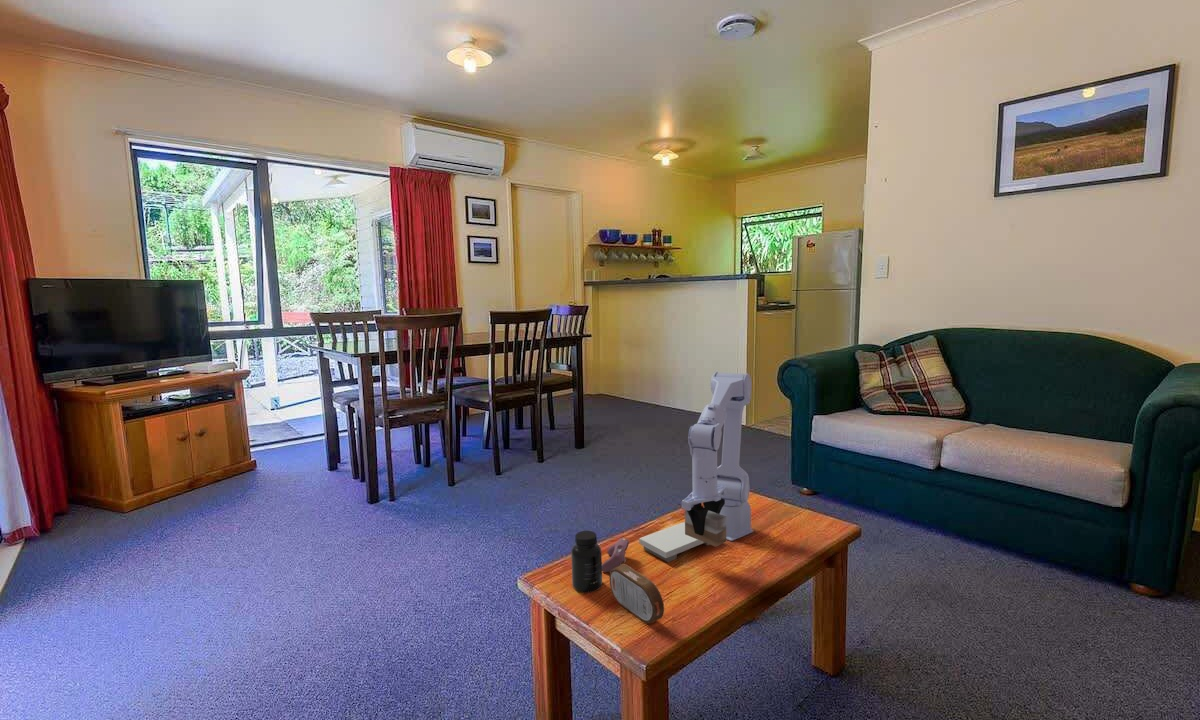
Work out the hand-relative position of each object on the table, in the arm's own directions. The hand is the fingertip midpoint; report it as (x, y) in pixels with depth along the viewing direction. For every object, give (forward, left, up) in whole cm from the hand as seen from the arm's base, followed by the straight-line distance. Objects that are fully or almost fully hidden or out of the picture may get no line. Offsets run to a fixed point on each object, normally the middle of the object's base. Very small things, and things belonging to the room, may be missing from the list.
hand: (705, 531), depth 123 cm
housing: (0, 0, -2) cm, 2 cm away
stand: (-4, -12, -9) cm, 16 cm away
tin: (+24, +3, -10) cm, 26 cm away
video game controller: (+15, -15, -10) cm, 23 cm away
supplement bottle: (+26, -11, -10) cm, 30 cm away
